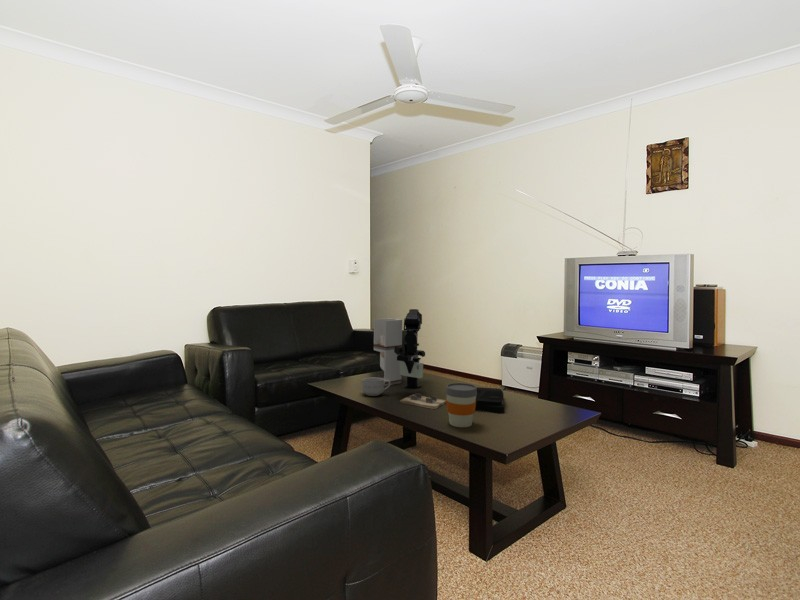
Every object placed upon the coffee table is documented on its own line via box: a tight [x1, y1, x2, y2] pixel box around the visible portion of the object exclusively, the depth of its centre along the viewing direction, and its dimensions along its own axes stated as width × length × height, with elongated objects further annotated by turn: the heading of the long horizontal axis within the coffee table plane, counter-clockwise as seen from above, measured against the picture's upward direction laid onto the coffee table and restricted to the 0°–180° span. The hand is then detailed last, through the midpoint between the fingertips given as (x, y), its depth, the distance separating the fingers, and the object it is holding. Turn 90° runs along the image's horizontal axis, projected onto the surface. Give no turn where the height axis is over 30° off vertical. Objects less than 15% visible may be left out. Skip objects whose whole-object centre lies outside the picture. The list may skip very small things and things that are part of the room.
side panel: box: [399, 392, 446, 410], centre depth 204 cm, size 12×18×3 cm, turn 59°
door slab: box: [399, 361, 424, 379], centre depth 217 cm, size 3×12×7 cm, turn 59°
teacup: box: [361, 376, 392, 397], centre depth 216 cm, size 14×11×8 cm
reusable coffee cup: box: [445, 382, 477, 428], centre depth 175 cm, size 13×12×15 cm
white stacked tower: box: [373, 317, 403, 387], centre depth 241 cm, size 11×11×35 cm
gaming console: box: [475, 386, 505, 414], centre depth 204 cm, size 27×20×7 cm
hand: (411, 372), depth 217 cm, fingers closed on door slab, 2 cm apart
